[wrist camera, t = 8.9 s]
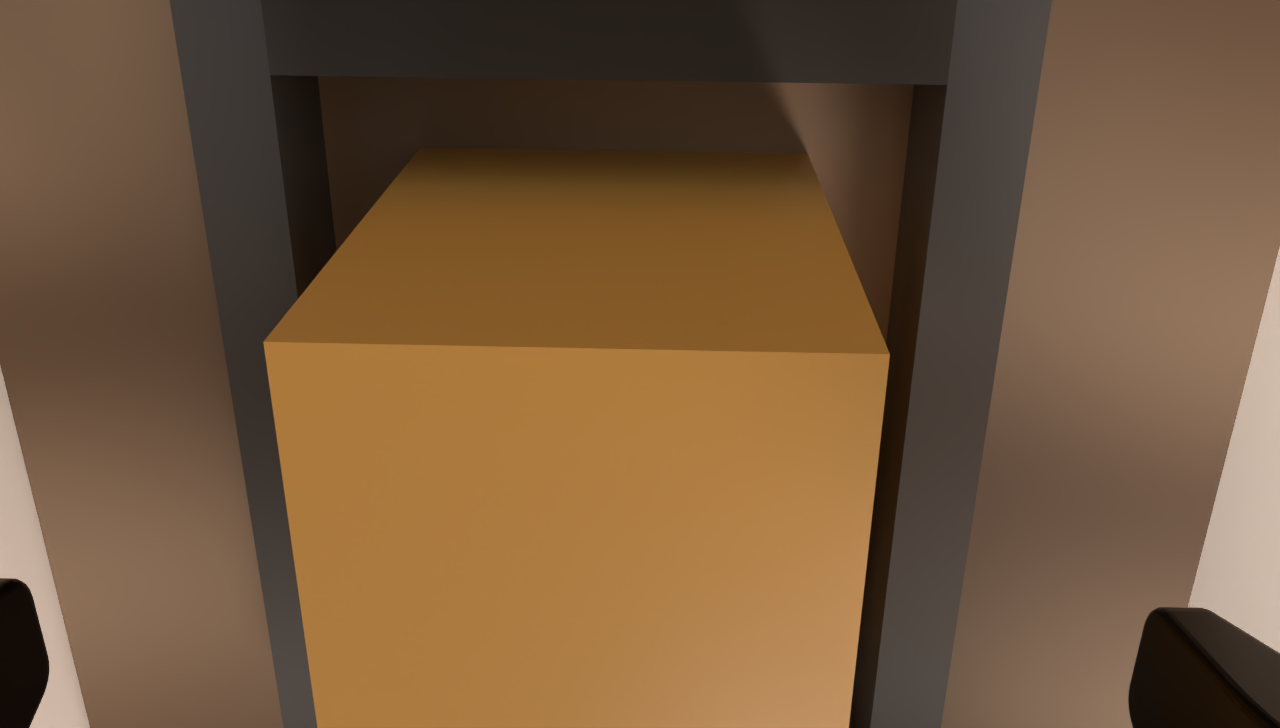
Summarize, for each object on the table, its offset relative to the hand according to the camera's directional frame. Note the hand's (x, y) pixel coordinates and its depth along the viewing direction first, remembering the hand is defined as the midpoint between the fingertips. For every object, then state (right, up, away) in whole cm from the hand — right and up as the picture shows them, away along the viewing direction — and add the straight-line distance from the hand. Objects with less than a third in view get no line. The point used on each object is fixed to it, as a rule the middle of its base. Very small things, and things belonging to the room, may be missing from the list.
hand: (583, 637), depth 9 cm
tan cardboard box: (0, +2, +4) cm, 4 cm away
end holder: (0, +2, +4) cm, 5 cm away
